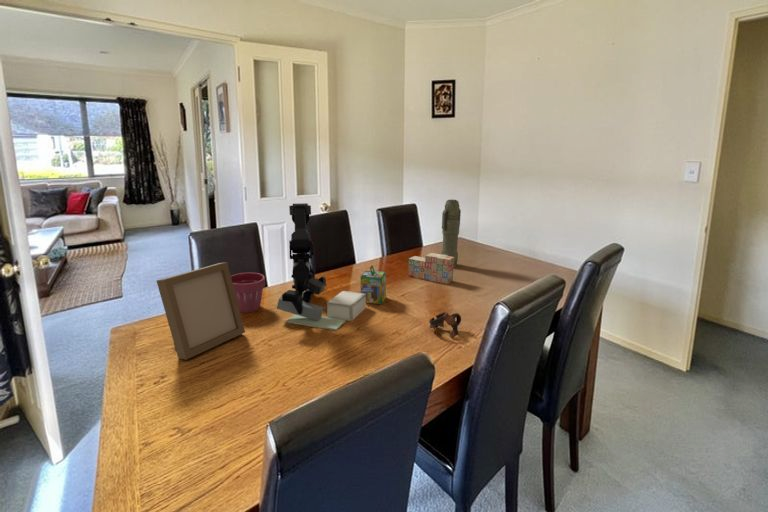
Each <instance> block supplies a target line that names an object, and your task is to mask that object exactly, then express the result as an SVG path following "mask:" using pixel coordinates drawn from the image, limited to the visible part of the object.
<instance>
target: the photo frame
mask: <svg viewBox="0 0 768 512" xmlns="http://www.w3.org/2000/svg"><path fill="white" fill-rule="evenodd" d="M231 276H232V275H231V272H230V269H229V263H228V261H226V262H225V261H224V262H218V263H214V264H210V265H208V266H203V267H201V268H197V269H193V270H190V271H186V272H185V271H184V272H182V273H179V274H175V275H171V276H167V277H165V278H161V279H157V280H156V284H157V287H158V291H159V294H160V297H161V302H162V304H163V308H164V309H163V310H164V314H165V316H166V319H167V322H168V326H169V330H170V333H171V338H172V341H173V345H174V347H175V351H176V355H177V358H178V360H189V359H190V358H193V357H195V356H197V355H199V354H201V353H204V352H206V351H208V350H210V349H212V348H215V347H217V346H219V345H221V344H223V343H225V342H228V341H230V340H231V339H234V338H236V337H238V336H240V335H243V334H245V333H246V330H245V326H244V323H243V319H242V313H241V312H240V310H239V306H238V303H237V299H236V295H235V291H234V287H233V283H232V279H231Z"/></svg>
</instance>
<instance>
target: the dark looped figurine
mask: <svg viewBox="0 0 768 512" xmlns="http://www.w3.org/2000/svg"><path fill="white" fill-rule="evenodd" d="M445 322H446V324H447V325H448V326H450V327H451V328H452V330H451V331H449V334H448V335H449V336H450V339H451V338H452V339H454V338H455V337H456V336H458V335H459V334H460V333H459V329H458V327H459V325H460V324H461V322H462V316H461V314H459V313H458V312H455V313H452V314H450V315H449V312H447V311H445V312H442V313H438V314H437V315H436V316H435V317H432V318H430V319H429V321H428V323H429V324H430V325H429V328H430V329H433V330H436V329H437V328H438V327H440V328H444V327H445Z"/></svg>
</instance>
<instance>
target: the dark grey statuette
mask: <svg viewBox="0 0 768 512" xmlns="http://www.w3.org/2000/svg"><path fill="white" fill-rule="evenodd" d="M461 213H462V212H461V208H460V202H459V200H457V199H447V200H446V202H445V204H444V210H443V211H442V216H441V217H442V219H441V229H442V232H441V233H442V250H441V252H440V254H441V255H448V256H452V257H454V266H456V267H458V261H459V260H458V258H459V253H458V244H459V243H458V242H459V234H460V226H461Z"/></svg>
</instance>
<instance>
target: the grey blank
mask: <svg viewBox="0 0 768 512" xmlns="http://www.w3.org/2000/svg"><path fill="white" fill-rule="evenodd" d="M276 309H277V310H280V311H284V312H286V313H291V314H292V315H293V314H294V315H295V314H296V315H300V316H303V317H306V318H310V319H313V320H316V321H319V320H320V318H321V316H322V314H323V311H324V306H321V305H317V304H315V303H312V302H310V303H308V302H304V301H303V305H302V314H298V312H297V310H296V309H295V307H294V305H293V304H292V302H287V301H282V295H281V296H280V297H279V298H278V301H277V305H276Z"/></svg>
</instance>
